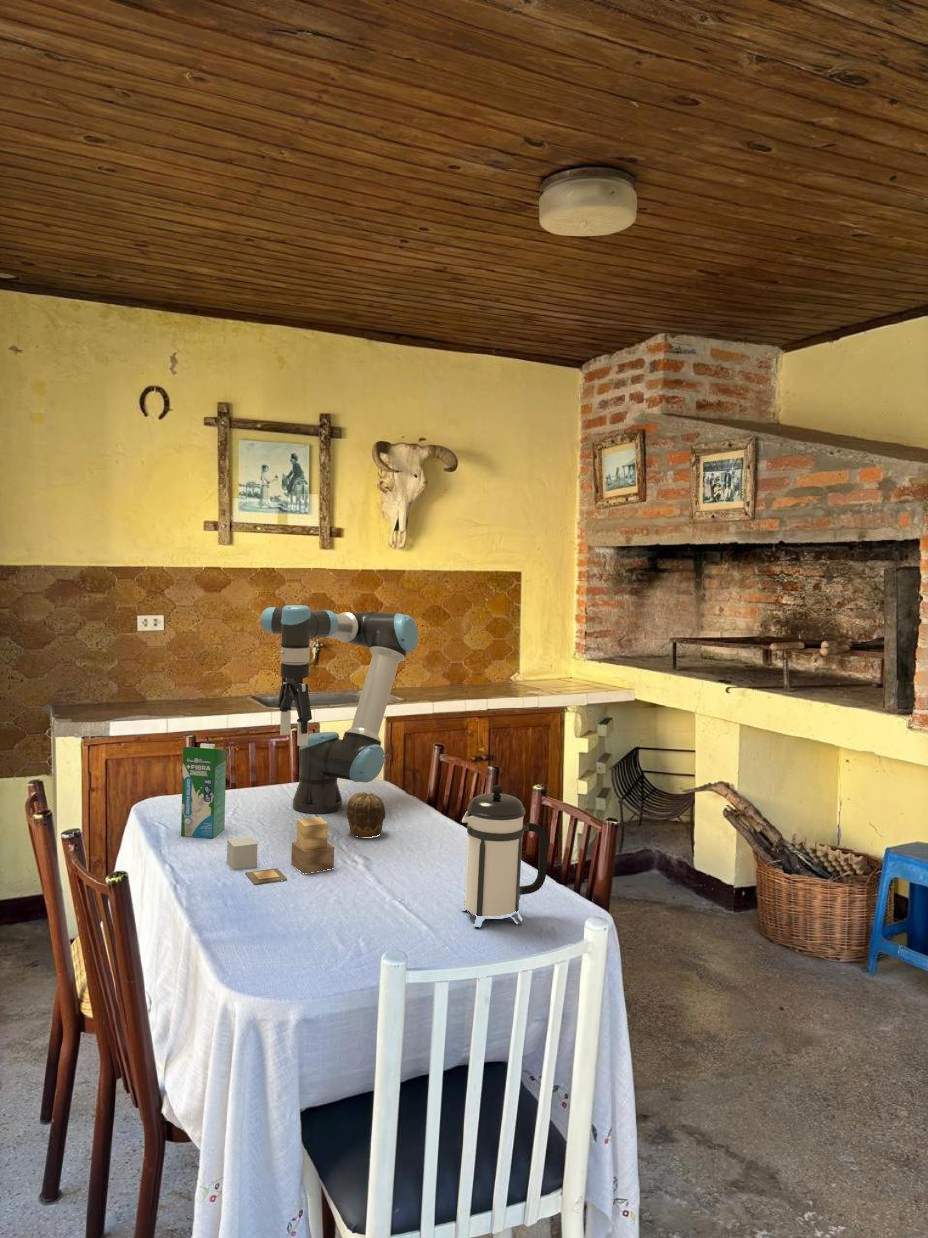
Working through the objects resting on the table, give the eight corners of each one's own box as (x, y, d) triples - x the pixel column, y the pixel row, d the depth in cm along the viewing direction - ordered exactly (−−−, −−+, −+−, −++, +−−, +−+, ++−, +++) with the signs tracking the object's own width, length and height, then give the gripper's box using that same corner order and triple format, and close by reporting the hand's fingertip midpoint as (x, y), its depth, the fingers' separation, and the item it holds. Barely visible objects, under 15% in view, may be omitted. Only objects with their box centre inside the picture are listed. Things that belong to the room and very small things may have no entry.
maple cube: (319, 840, 234) (319, 817, 234) (327, 847, 229) (327, 823, 229) (296, 842, 231) (297, 819, 231) (304, 849, 226) (304, 826, 226)
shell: (338, 837, 255) (339, 795, 254) (357, 827, 265) (358, 786, 265) (372, 843, 251) (374, 800, 250) (390, 833, 261) (392, 791, 261)
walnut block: (320, 861, 236) (321, 838, 236) (333, 870, 229) (334, 847, 229) (291, 865, 232) (291, 842, 231) (303, 875, 225) (304, 851, 225)
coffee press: (508, 938, 193) (515, 799, 191) (444, 920, 201) (450, 785, 199) (545, 913, 208) (552, 783, 205) (485, 896, 216) (490, 771, 214)
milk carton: (224, 829, 258) (226, 741, 257) (212, 838, 249) (214, 748, 248) (193, 826, 259) (195, 739, 257) (180, 836, 250) (182, 746, 248)
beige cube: (250, 859, 235) (250, 836, 234) (256, 867, 229) (257, 843, 229) (226, 862, 232) (227, 839, 231) (233, 870, 226) (233, 846, 226)
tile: (277, 869, 228) (277, 867, 228) (287, 880, 221) (287, 877, 221) (245, 874, 224) (245, 871, 224) (254, 885, 217) (254, 882, 217)
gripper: (266, 657, 256) (265, 731, 258) (297, 669, 235) (296, 751, 237) (292, 656, 260) (291, 729, 262) (325, 668, 239) (323, 748, 241)
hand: (293, 740), depth 249 cm, fingers open, 13 cm apart
